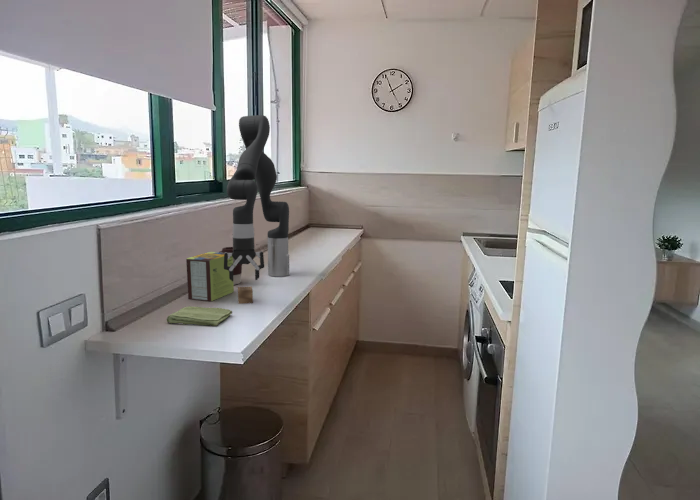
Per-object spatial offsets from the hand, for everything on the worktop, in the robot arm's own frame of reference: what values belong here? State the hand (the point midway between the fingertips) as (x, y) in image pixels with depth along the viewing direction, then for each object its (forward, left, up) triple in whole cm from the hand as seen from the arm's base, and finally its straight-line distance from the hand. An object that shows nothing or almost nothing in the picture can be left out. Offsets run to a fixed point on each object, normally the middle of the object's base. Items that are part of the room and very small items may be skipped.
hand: (244, 280), depth 181 cm
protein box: (+12, -12, -8) cm, 19 cm away
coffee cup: (+4, -30, -8) cm, 32 cm away
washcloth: (+15, +18, -9) cm, 25 cm away
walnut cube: (0, 0, -8) cm, 8 cm away
